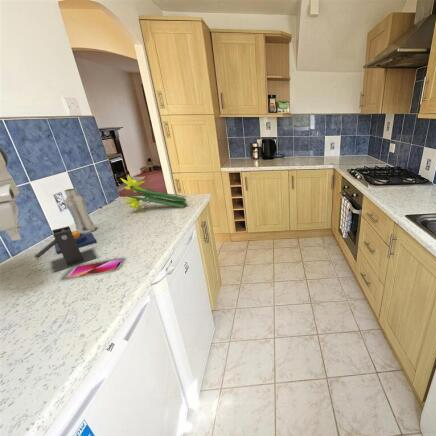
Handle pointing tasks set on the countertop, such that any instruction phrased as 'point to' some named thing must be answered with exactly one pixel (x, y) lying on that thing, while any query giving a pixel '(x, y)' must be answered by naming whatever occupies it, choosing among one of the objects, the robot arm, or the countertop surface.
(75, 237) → the boil button
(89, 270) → the smartphone
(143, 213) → the countertop surface
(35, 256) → the switch lever
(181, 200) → the daffodil flowers
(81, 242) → the boil block
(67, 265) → the black stand
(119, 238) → the countertop surface
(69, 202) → the plastic bottle
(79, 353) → the countertop surface
